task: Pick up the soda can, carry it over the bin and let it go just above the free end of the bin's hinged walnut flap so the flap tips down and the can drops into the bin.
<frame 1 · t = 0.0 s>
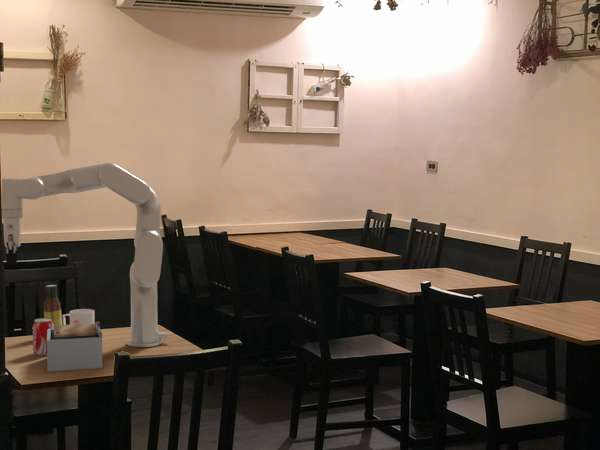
hand: (12, 263, 276), 31 cm above the table, tool pointing down, fingers open, 9 cm apart
soda can: (43, 354, 276), on the table
bin: (74, 362, 264), on the table
flap: (74, 329, 263), point 11 cm above the table, hinge at 0.0°
sauce bottle: (53, 337, 301), on the table
mug: (78, 341, 296), on the table
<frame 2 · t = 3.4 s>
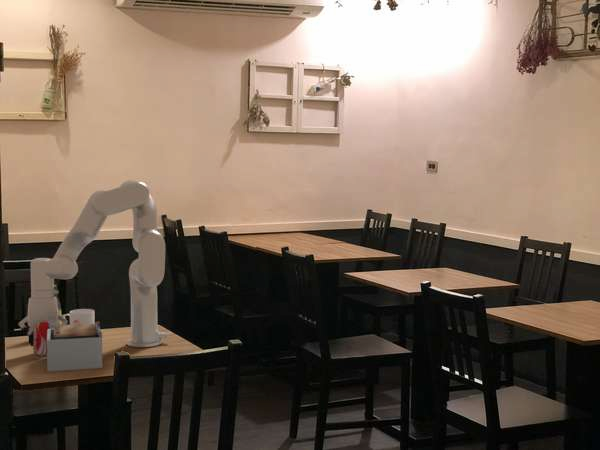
hand: (43, 344, 275), 3 cm above the table, tool pointing down, fingers closed on soda can, 7 cm apart
soda can: (43, 354, 276), on the table, touching gripper
everything else where it was.
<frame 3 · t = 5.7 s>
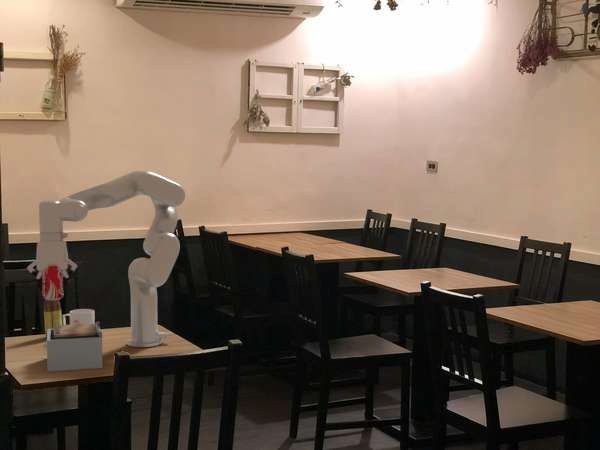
hand: (53, 289, 268), 23 cm above the table, tool pointing down, fingers closed on soda can, 7 cm apart
soda can: (53, 299, 269), point 20 cm above the table, touching gripper
everything else where it was.
when the fingers open (18 cm above the table, at t = 8.2 s): soda can drops 5 cm, resting on flap.
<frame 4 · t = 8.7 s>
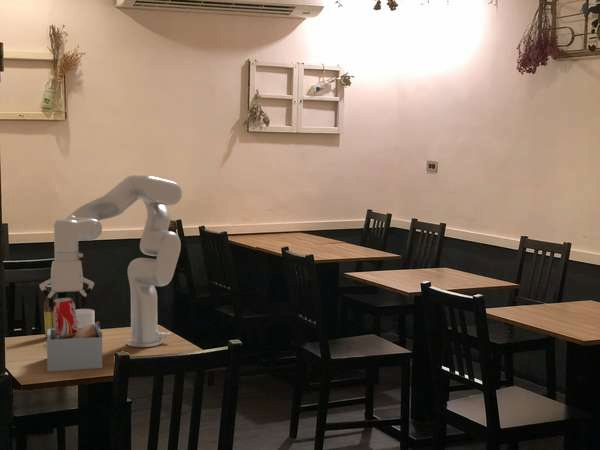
hand: (67, 308, 262), 18 cm above the table, tool pointing down, fingers open, 9 cm apart
soda can: (67, 335, 262), point 9 cm above the table, touching flap, gripper
flap: (75, 335, 263), point 9 cm above the table, hinge at -14.8°, touching soda can
everything else where it was.
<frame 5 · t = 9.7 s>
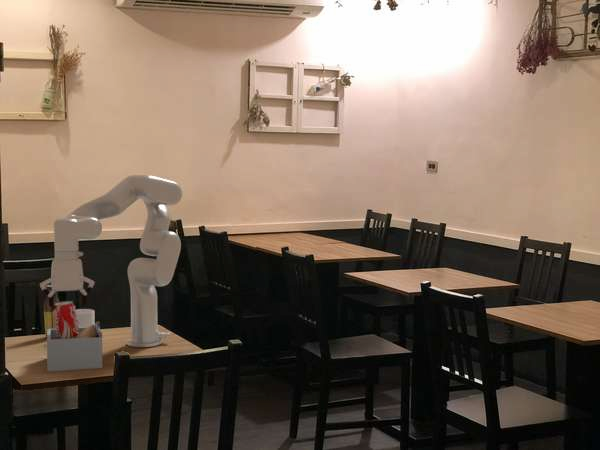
hand: (67, 307, 262), 19 cm above the table, tool pointing down, fingers open, 9 cm apart
soda can: (68, 339, 263), point 8 cm above the table, touching flap
flap: (76, 338, 263), point 8 cm above the table, hinge at -25.4°, touching soda can
everything else where it was.
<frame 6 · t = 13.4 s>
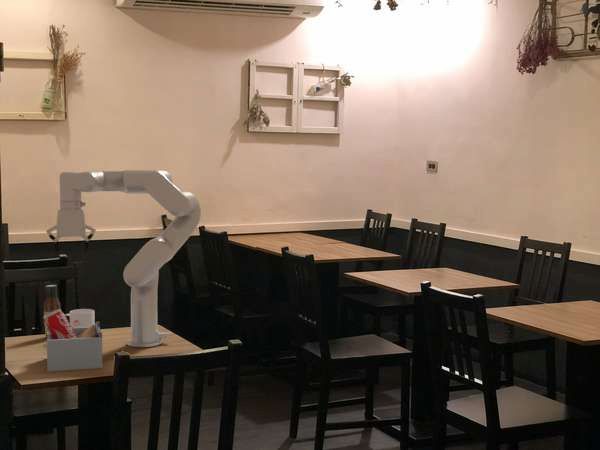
hand: (71, 252, 291), 33 cm above the table, tool pointing down, fingers open, 9 cm apart
soda can: (68, 345, 262), point 6 cm above the table, touching bin, flap
flap: (77, 340, 263), point 8 cm above the table, hinge at -30.7°, touching soda can
everything else where it was.
at the end: soda can point 6.1 cm above the table; soda can inside the target area (2.0 cm from its centre), point 6.1 cm above the table; the gripper is holding nothing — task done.
